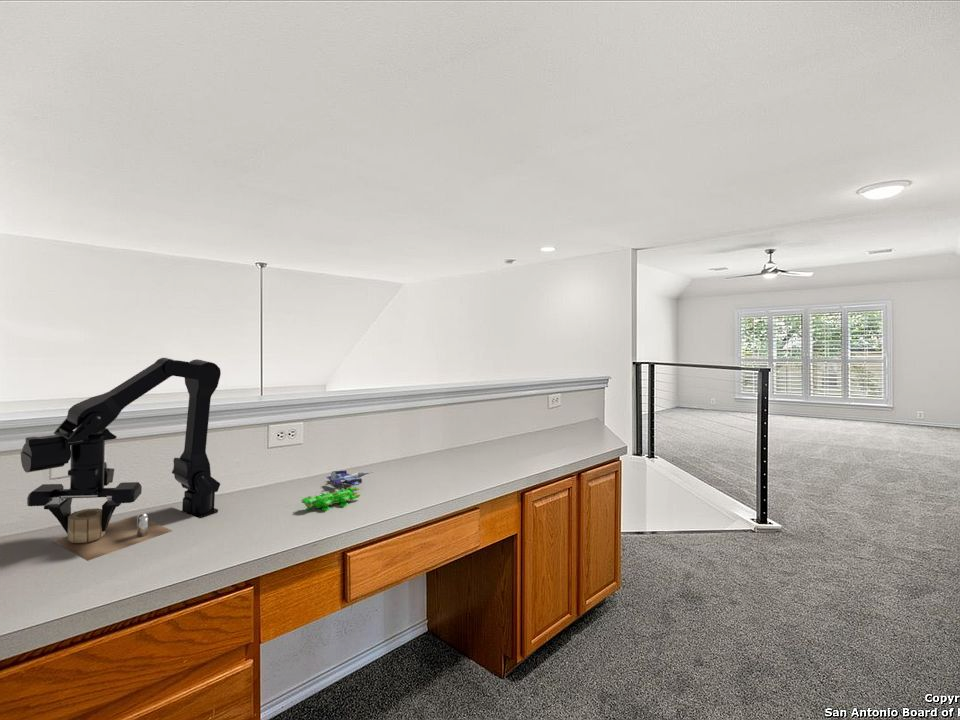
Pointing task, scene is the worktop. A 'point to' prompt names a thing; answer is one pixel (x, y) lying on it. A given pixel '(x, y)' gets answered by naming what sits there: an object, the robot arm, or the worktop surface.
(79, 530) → the wooden octagonal holder
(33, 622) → the worktop surface
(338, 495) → the crocodile figurine
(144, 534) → the silver metal cylinder
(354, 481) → the toy airplane
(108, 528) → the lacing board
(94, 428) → the robot arm
